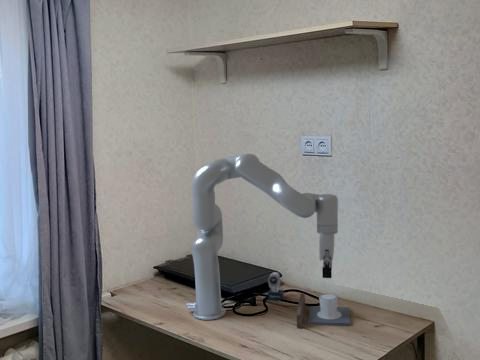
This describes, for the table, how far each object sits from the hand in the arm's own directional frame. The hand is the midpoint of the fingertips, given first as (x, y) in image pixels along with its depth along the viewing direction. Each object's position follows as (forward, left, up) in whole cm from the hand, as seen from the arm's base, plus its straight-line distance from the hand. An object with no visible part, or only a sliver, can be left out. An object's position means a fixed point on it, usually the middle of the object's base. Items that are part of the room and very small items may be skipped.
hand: (327, 273), depth 199 cm
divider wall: (-10, 0, -17) cm, 20 cm away
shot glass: (0, 0, -16) cm, 16 cm away
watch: (-22, +18, -17) cm, 33 cm away
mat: (0, 0, -17) cm, 17 cm away
